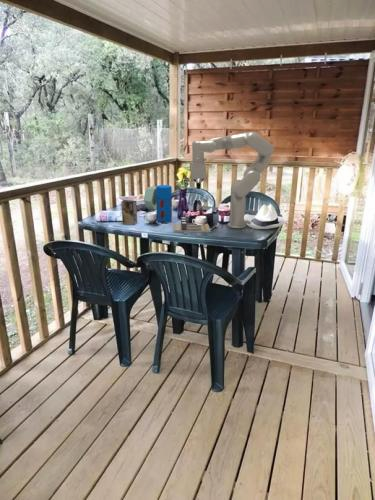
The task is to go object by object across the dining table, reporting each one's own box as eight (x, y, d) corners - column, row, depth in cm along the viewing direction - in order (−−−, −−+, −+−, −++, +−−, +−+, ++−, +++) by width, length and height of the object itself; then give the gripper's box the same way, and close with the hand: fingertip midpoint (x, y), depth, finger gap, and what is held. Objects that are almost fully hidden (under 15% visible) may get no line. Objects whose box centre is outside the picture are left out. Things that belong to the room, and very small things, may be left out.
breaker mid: (185, 225, 237) (185, 219, 236) (186, 226, 235) (186, 220, 233) (181, 225, 237) (181, 219, 235) (181, 226, 235) (181, 220, 233)
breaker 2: (186, 228, 231) (186, 222, 230) (186, 229, 229) (186, 223, 228) (181, 228, 231) (181, 222, 230) (181, 229, 229) (182, 223, 228)
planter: (157, 214, 287) (149, 196, 272) (149, 213, 291) (140, 195, 275) (166, 200, 295) (159, 181, 280) (159, 199, 299) (150, 180, 284)
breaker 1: (185, 223, 243) (185, 217, 241) (185, 224, 240) (185, 218, 239) (181, 223, 242) (181, 217, 241) (181, 224, 240) (181, 218, 239)
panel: (207, 225, 245) (207, 222, 244) (210, 232, 230) (210, 229, 229) (173, 225, 244) (173, 223, 243) (173, 232, 229) (173, 230, 228)
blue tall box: (169, 223, 248) (169, 188, 240) (155, 222, 250) (154, 187, 242) (173, 219, 258) (173, 185, 250) (159, 218, 260) (158, 184, 252)
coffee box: (137, 222, 249) (136, 200, 244) (134, 225, 243) (133, 202, 238) (125, 221, 251) (124, 199, 246) (122, 224, 245) (120, 201, 240)
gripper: (208, 159, 232) (208, 187, 239) (186, 160, 231) (186, 188, 237) (210, 160, 225) (210, 189, 232) (187, 161, 224) (188, 190, 230)
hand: (198, 188), depth 234 cm, fingers closed
